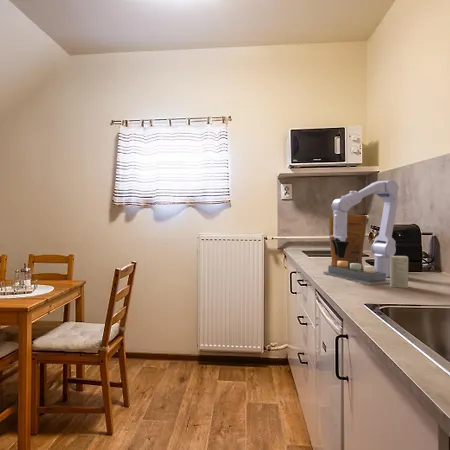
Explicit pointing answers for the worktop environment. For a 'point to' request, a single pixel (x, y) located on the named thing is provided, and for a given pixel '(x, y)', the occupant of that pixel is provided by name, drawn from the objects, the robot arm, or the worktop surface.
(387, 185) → the robot arm
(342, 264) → the orange button
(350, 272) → the button panel
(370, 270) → the ivory button
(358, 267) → the sage button
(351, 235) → the pancake mix bag
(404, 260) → the skincare box
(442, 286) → the worktop surface
